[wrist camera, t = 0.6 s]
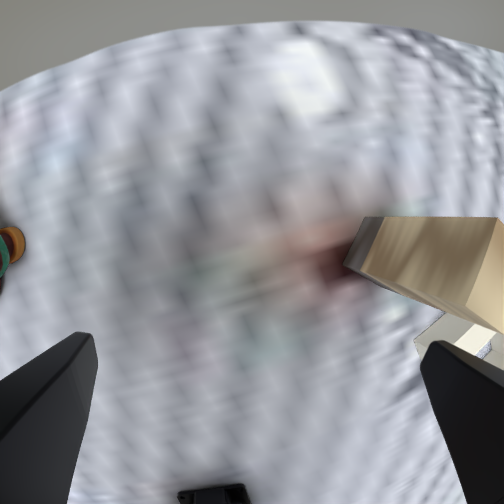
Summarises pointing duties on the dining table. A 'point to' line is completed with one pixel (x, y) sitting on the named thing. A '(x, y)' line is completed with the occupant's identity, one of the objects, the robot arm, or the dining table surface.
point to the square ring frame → (463, 338)
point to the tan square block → (437, 263)
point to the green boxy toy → (10, 247)
